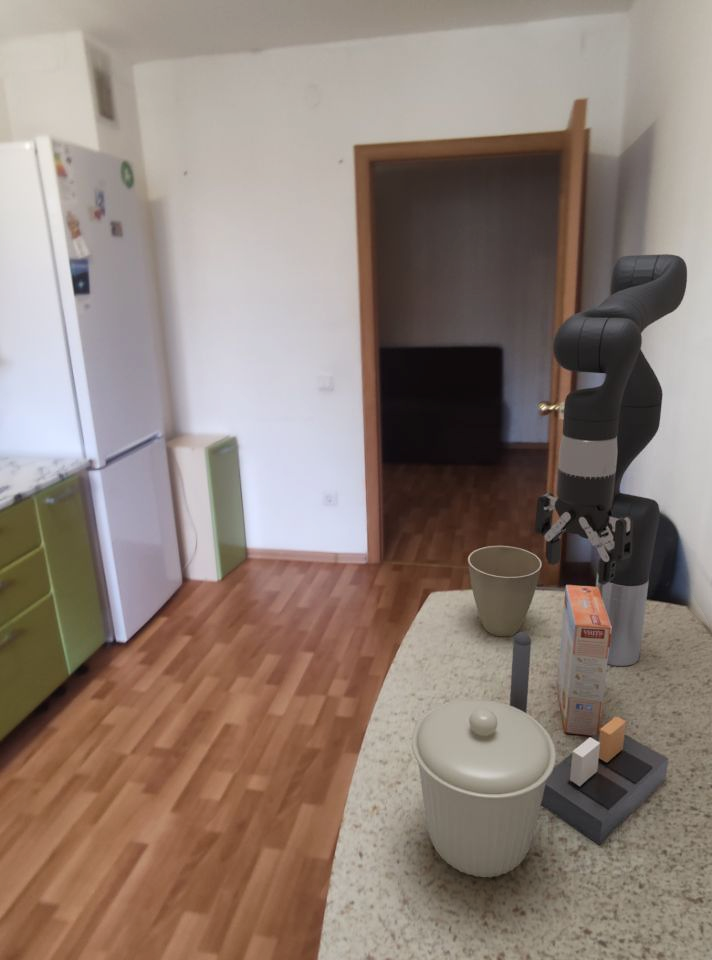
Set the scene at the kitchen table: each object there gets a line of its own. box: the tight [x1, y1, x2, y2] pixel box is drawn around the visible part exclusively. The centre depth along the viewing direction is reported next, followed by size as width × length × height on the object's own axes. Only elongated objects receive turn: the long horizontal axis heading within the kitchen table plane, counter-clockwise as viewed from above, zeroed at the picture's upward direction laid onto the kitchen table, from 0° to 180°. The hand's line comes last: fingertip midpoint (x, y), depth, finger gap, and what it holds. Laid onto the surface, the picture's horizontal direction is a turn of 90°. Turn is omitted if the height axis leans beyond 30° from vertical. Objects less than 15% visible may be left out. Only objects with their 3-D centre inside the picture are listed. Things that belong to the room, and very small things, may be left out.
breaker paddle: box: [599, 715, 627, 763], centre depth 98 cm, size 4×2×5 cm, turn 129°
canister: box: [411, 698, 557, 878], centre depth 86 cm, size 18×18×21 cm
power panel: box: [541, 730, 669, 846], centre depth 97 cm, size 18×10×4 cm, turn 129°
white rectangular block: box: [570, 736, 600, 786], centre depth 94 cm, size 4×2×5 cm, turn 129°
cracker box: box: [556, 584, 612, 737], centre depth 112 cm, size 14×6×21 cm, turn 168°
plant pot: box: [467, 545, 543, 637], centre depth 139 cm, size 15×15×16 cm
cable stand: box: [509, 631, 532, 713], centre depth 96 cm, size 7×7×25 cm
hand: (578, 572), depth 96 cm, fingers open, 8 cm apart
